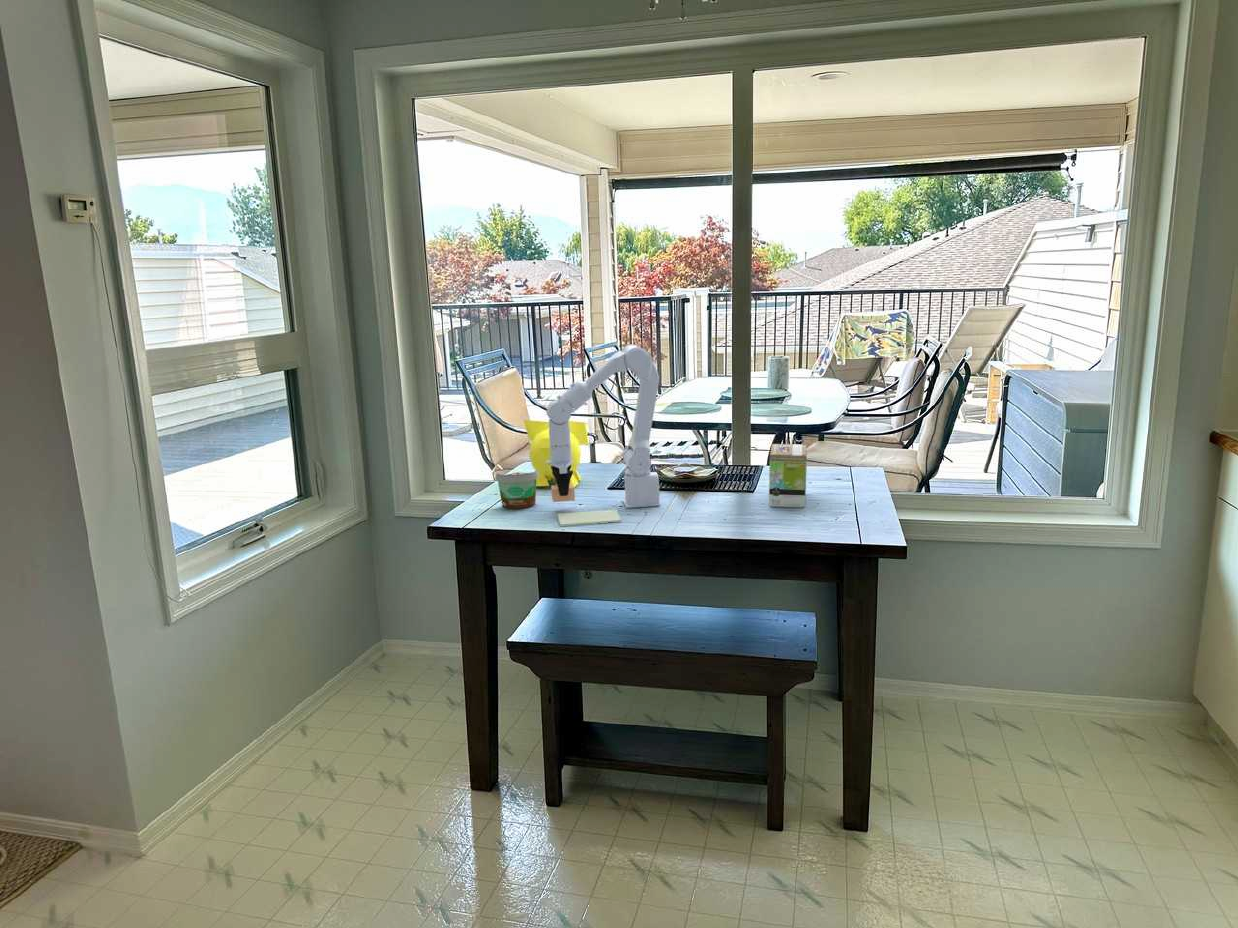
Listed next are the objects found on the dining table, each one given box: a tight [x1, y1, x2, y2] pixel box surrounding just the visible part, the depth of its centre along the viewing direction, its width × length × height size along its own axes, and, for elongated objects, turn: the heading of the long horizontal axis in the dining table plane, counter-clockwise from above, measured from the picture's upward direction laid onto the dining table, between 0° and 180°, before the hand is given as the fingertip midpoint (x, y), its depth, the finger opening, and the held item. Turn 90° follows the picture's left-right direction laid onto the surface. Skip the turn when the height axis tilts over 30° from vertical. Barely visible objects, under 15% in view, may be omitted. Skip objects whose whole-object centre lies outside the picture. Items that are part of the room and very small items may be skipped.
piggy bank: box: [523, 419, 589, 488], centre depth 271 cm, size 20×20×19 cm
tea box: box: [768, 443, 808, 508], centre depth 242 cm, size 15×10×15 cm, turn 168°
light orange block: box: [550, 484, 576, 503], centre depth 241 cm, size 6×4×4 cm
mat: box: [557, 509, 622, 528], centre depth 233 cm, size 16×10×1 cm, turn 97°
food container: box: [494, 469, 539, 511], centre depth 245 cm, size 12×6×10 cm, turn 101°
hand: (563, 493), depth 241 cm, fingers closed on light orange block, 4 cm apart
